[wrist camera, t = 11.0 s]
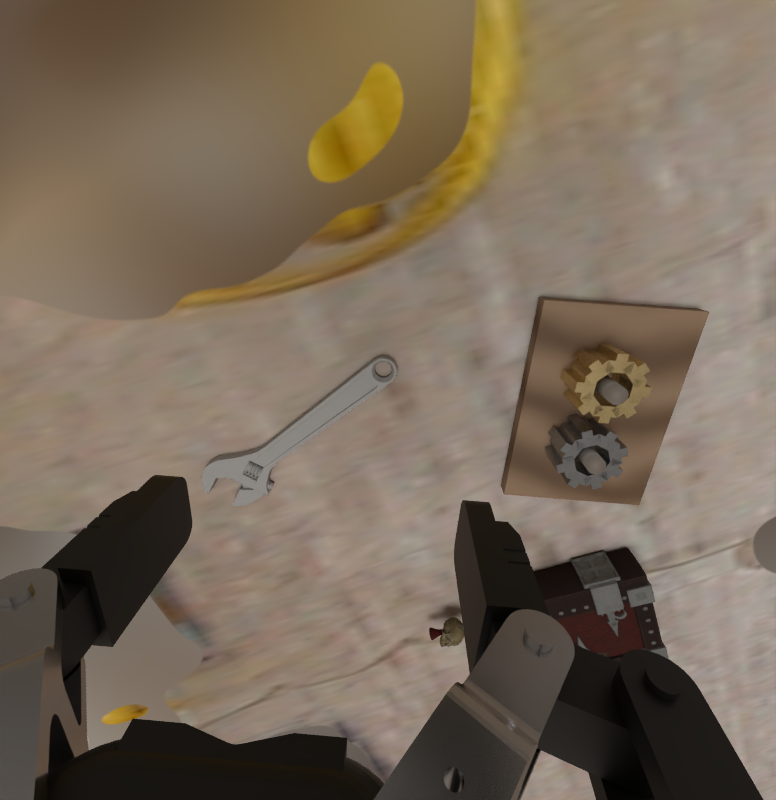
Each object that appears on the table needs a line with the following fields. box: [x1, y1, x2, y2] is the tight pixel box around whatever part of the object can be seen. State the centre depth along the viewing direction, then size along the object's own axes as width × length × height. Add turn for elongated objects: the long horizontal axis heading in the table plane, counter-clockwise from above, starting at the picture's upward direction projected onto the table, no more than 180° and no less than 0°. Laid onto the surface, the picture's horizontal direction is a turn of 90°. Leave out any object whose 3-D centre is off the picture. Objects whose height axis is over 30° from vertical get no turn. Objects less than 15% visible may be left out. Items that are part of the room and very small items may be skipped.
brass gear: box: [560, 343, 652, 424], centre depth 36 cm, size 6×6×4 cm
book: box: [429, 548, 668, 662], centre depth 49 cm, size 15×25×5 cm, turn 113°
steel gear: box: [545, 414, 628, 490], centre depth 38 cm, size 6×6×4 cm
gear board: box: [501, 297, 709, 505], centre depth 37 cm, size 20×14×6 cm
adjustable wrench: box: [202, 356, 397, 506], centre depth 43 cm, size 25×6×2 cm, turn 124°
